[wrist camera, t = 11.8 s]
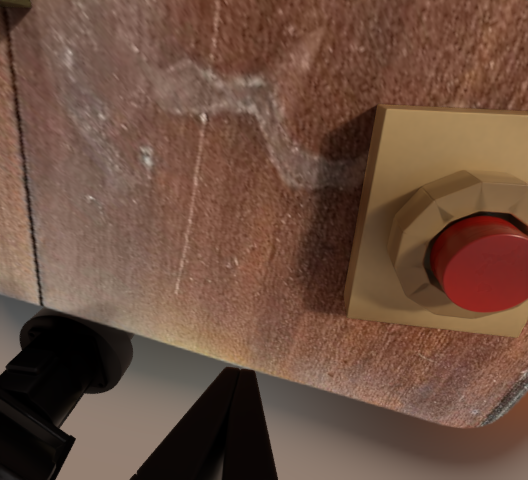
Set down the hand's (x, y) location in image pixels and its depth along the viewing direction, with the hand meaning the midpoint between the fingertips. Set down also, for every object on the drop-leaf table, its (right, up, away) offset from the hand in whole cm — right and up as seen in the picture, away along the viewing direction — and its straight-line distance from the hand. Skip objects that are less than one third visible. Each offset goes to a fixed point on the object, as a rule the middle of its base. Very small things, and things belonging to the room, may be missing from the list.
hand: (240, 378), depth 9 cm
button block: (+10, +5, +8) cm, 14 cm away
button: (+10, +3, +5) cm, 11 cm away
